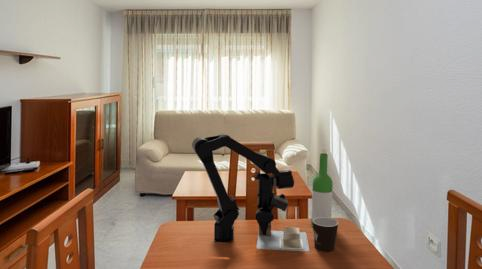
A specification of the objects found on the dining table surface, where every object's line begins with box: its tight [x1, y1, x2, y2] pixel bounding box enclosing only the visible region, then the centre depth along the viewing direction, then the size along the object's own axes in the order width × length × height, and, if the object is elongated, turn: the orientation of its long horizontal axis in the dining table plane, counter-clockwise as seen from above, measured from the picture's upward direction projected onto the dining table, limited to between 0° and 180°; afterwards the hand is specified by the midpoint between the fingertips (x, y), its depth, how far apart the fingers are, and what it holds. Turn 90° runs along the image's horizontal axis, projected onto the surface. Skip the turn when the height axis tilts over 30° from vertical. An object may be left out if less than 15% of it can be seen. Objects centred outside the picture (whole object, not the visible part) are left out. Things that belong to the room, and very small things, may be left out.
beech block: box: [282, 226, 301, 248], centre depth 125 cm, size 6×6×5 cm
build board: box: [256, 230, 311, 252], centre depth 129 cm, size 18×16×1 cm
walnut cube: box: [258, 221, 272, 236], centre depth 134 cm, size 4×4×4 cm
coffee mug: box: [312, 217, 339, 253], centre depth 124 cm, size 12×9×10 cm
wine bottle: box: [310, 152, 334, 228], centre depth 140 cm, size 8×8×30 cm
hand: (264, 229), depth 134 cm, fingers open, 9 cm apart
